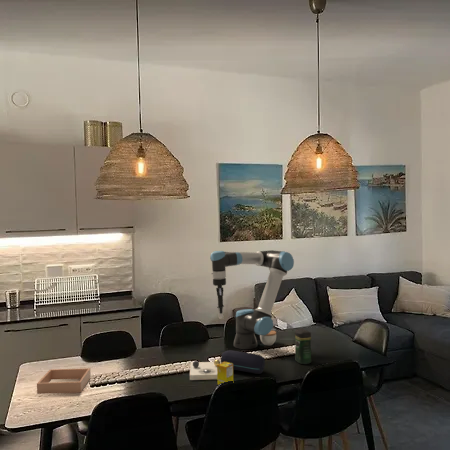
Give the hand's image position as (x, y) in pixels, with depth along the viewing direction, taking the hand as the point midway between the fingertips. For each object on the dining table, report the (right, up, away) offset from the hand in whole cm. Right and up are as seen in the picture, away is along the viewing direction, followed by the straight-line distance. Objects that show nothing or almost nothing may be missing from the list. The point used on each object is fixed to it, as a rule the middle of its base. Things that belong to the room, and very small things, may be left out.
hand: (221, 318), depth 276 cm
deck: (-7, -26, -20) cm, 33 cm away
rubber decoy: (-14, -21, -18) cm, 31 cm away
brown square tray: (-79, -27, -34) cm, 90 cm away
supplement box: (+2, -26, -38) cm, 46 cm away
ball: (-7, -24, -24) cm, 35 cm away
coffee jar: (+47, -24, -4) cm, 53 cm away
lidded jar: (+30, -23, +33) cm, 50 cm away
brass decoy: (-2, -21, -16) cm, 27 cm away
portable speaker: (+12, -26, -17) cm, 33 cm away
